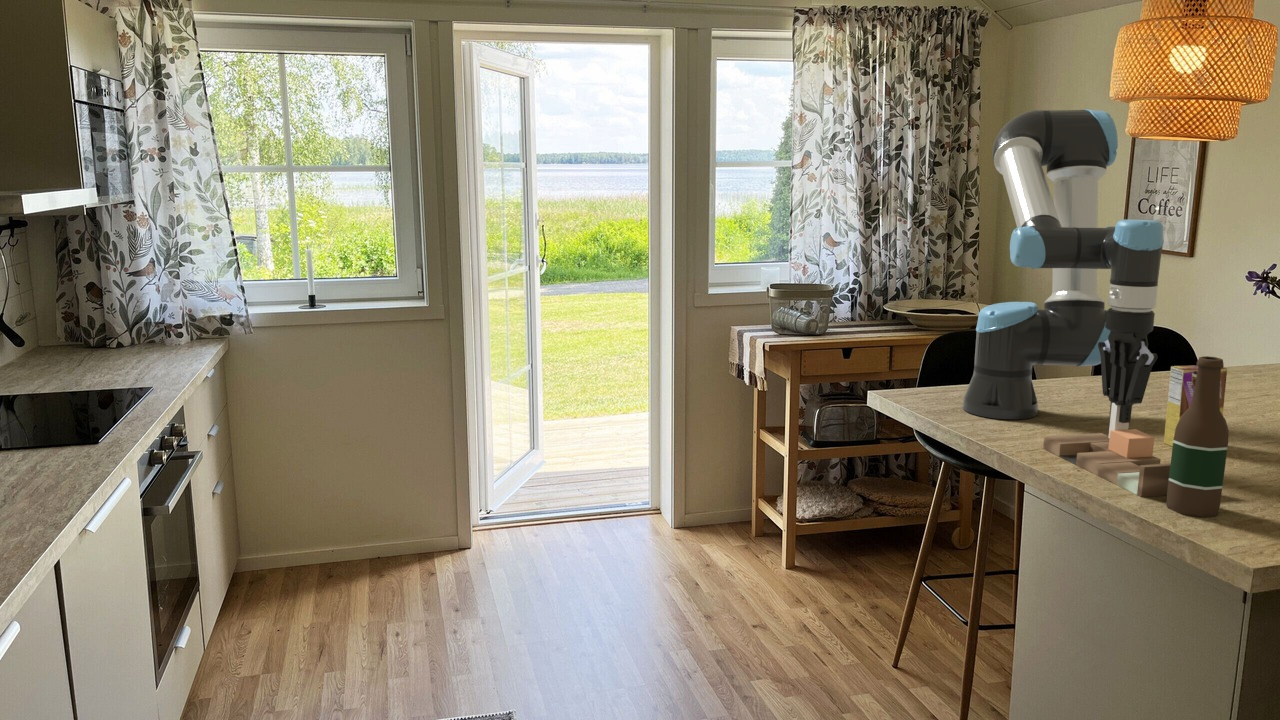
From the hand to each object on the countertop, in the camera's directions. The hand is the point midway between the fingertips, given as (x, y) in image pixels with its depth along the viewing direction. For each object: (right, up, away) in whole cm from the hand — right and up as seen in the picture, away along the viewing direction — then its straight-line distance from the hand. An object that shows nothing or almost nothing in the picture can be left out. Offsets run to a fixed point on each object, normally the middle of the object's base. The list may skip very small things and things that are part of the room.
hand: (1117, 438), depth 175 cm
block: (+1, -2, -3) cm, 4 cm away
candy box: (+19, -2, +10) cm, 21 cm away
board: (-2, -5, -4) cm, 7 cm away
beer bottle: (0, -9, -24) cm, 26 cm away
